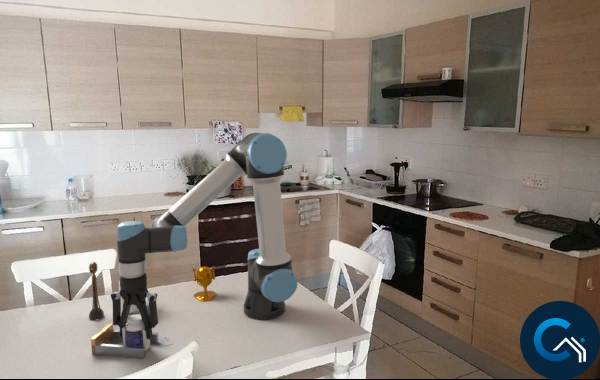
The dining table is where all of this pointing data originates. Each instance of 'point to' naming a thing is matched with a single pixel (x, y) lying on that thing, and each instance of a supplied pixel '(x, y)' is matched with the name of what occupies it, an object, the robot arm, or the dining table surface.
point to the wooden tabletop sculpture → (95, 295)
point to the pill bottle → (134, 331)
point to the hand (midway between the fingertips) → (136, 347)
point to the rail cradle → (104, 348)
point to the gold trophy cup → (204, 283)
